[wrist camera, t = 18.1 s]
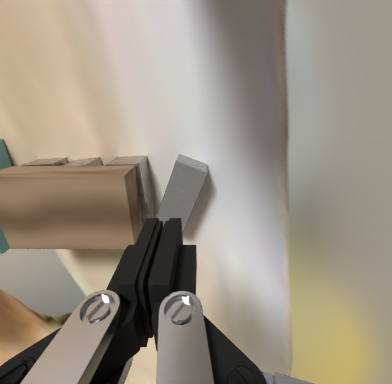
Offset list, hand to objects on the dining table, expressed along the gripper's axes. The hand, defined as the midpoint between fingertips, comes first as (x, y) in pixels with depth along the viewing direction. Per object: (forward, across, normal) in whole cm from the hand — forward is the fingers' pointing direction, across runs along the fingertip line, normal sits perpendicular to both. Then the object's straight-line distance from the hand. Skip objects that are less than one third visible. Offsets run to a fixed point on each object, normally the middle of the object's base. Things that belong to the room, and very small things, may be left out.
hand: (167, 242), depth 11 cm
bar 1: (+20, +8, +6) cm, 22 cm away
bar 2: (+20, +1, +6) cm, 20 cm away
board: (+15, +14, +6) cm, 21 cm away
